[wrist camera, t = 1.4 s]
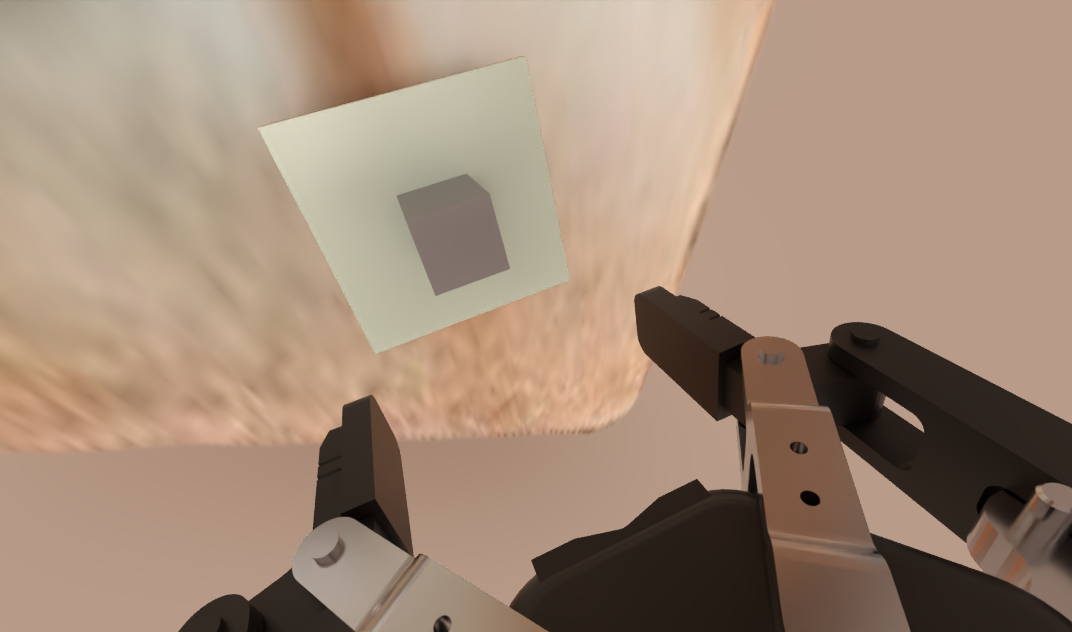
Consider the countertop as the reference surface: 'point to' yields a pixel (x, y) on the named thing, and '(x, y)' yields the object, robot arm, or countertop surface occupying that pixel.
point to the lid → (428, 199)
